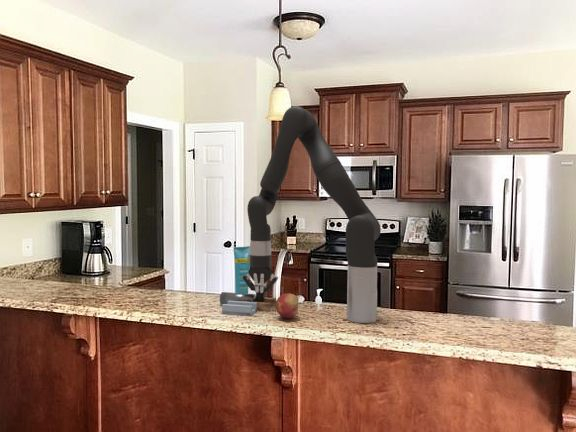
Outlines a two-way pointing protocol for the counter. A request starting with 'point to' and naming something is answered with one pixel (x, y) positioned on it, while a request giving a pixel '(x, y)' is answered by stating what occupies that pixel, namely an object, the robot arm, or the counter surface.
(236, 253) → the tube
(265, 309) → the brown flat wooden block
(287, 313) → the fruit
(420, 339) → the counter surface
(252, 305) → the v block
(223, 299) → the grey cylinder
